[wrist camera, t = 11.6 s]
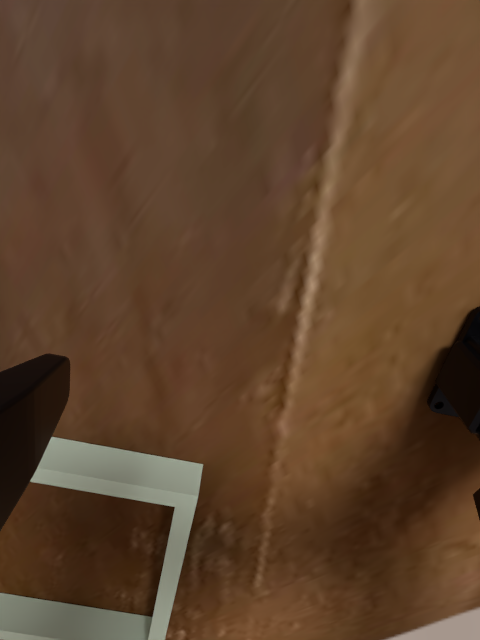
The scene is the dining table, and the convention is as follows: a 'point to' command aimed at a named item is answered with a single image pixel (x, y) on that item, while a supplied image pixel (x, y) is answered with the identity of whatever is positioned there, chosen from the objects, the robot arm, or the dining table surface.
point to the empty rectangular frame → (120, 481)
